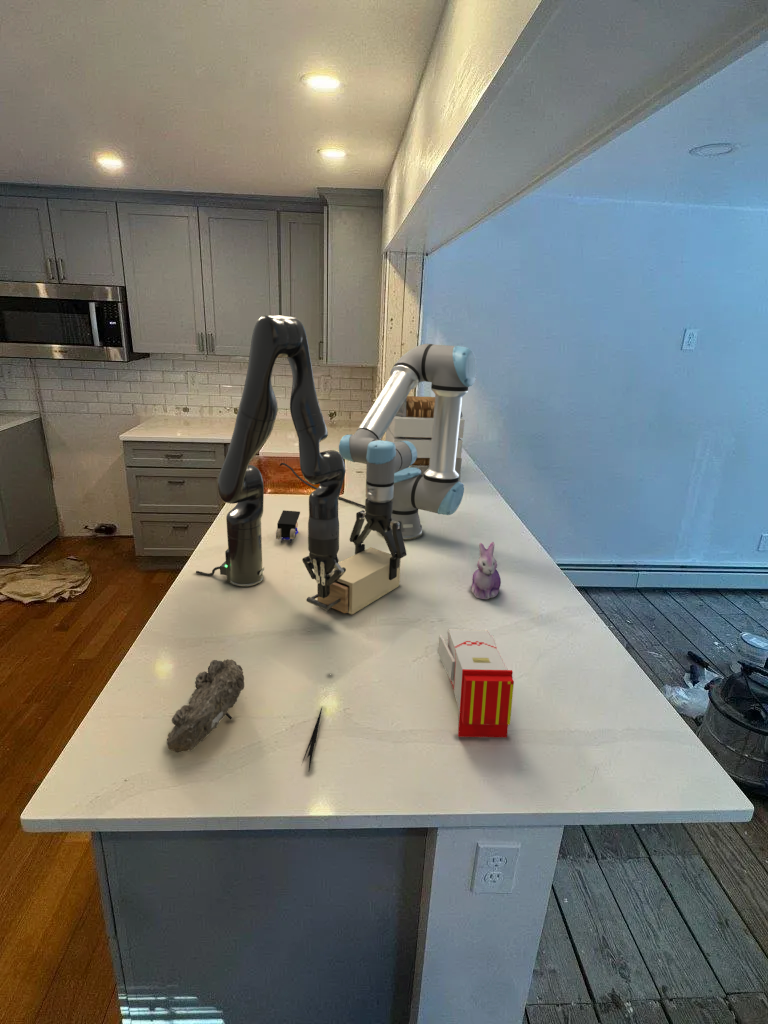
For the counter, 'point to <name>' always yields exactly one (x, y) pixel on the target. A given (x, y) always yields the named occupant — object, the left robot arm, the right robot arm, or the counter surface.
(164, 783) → the counter surface
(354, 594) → the cabinet
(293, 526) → the black wheeled vehicle
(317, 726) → the feather
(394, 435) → the white slatted crate
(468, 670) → the toy
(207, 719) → the fossil
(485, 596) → the figurine
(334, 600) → the drawer
